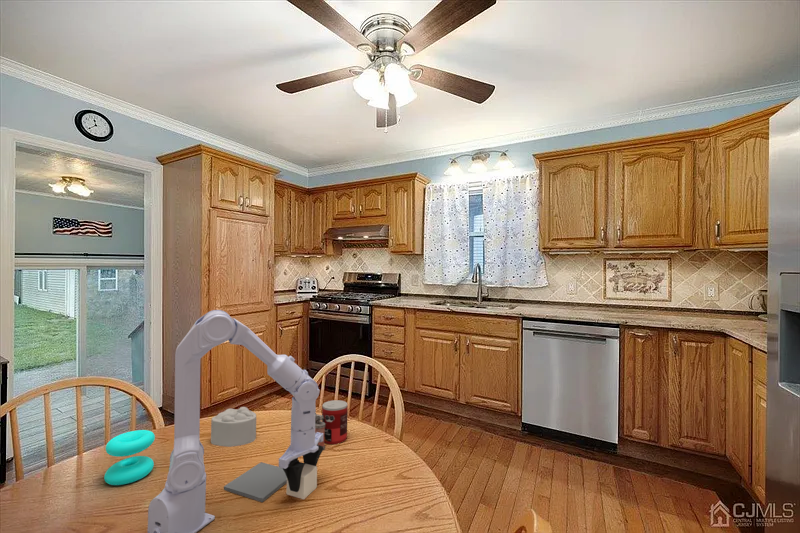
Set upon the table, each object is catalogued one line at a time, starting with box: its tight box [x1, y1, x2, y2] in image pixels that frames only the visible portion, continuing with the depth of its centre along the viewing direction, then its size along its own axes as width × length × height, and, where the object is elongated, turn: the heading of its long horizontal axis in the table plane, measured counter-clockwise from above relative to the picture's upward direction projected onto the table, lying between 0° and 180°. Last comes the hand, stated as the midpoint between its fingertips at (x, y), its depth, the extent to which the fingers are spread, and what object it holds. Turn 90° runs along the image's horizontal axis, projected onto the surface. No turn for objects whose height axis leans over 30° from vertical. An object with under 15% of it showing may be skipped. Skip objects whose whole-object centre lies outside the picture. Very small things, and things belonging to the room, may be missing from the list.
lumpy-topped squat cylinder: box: [210, 406, 257, 448], centre depth 109 cm, size 10×13×9 cm
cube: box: [285, 464, 318, 500], centre depth 82 cm, size 5×5×5 cm
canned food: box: [321, 399, 349, 445], centre depth 109 cm, size 8×8×11 cm
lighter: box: [315, 413, 326, 451], centre depth 104 cm, size 8×3×10 cm, turn 62°
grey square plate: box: [223, 461, 287, 503], centre depth 86 cm, size 12×12×1 cm
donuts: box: [103, 429, 156, 486], centre depth 88 cm, size 10×10×10 cm
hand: (301, 483), depth 82 cm, fingers closed on cube, 5 cm apart
